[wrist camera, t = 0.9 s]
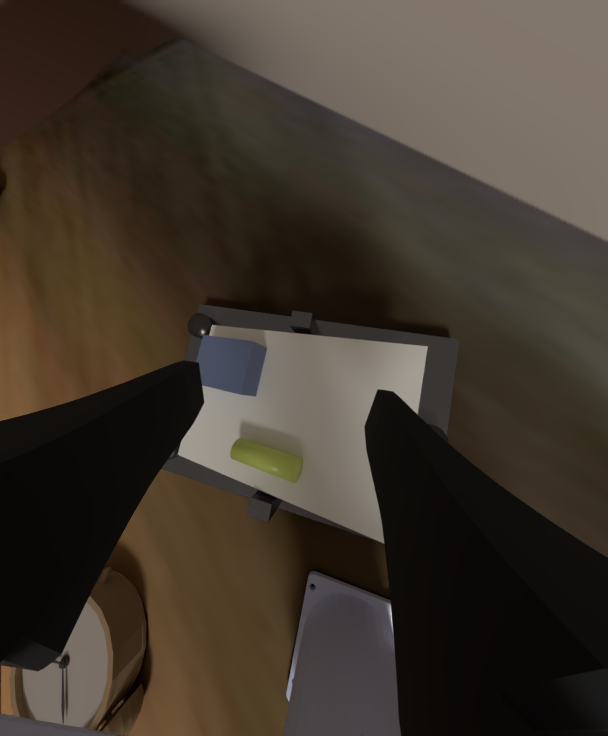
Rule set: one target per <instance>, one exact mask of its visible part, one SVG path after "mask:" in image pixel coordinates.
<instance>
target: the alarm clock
mask: <svg viewBox="0 0 608 736" xmlns="http://www.w3.org/2000/svg"><path fill="white" fill-rule="evenodd" d="M145 647H146V619H145V614H144V609H143V604H142V600H141V598H140V596H139V594H138V592H137V590H136V588H135V586H134V585H133V584H132V583H131V582H130V581H129V580H128V579H127V578H126V577H125V576H123V575H122V574H121V573H119V572H116V571H113V570H111V567H107V568H105V569H103V570H102V572H101V574H100V576H99V578H98V580H97V582H96V584H95V586H94V588H93V590H92V592H91V594H90V596H89V598H88V600H87V602H86V604H85V606H84V608H83V610H82V612H81V615H80V617H79V619H78V621H77V623H76V625H75V627H74V629H73V631H72V633H71V635H70V637H69V640H68V642H67V644H66V646H65V648H64V650H63V653H62V654H61V655H60V656H59V657H58V658H57V659H56V660H55V661H53V662H52V663H51V664H49V665H48V666H47V667H45V668H44V669H42V670H40V671H33V670H27V669H21V668H15V667H12V668H11V676H10V689H11V706H12V710H13V714H14V716H17V717H23V718H29V719H35V720H40V721H46V722H52V723H58V724H64V725H69V726H75V727H81V728H87V729H92V730H97V729H98V727H99V726H100V724H101V723H102V722H103V721H104V720H105V719H106V721H107V722H106V723H105V724H104V726H103V727H102V728H101V729H100V730H99V731H104V732H110V733H116V734H121V735H128V734H129V732H130V730H131V729H132V727H133V725H134V723H135V721H136V719H137V717H138V715H139V713H140V710H141V707H142V703H143V698H144V690H143V685H142V682H141V684H140V685H139V687H138V688H137V689H136V690H135V692H134V693H133V694H132V695H131V697H130V698H129V699H128V698H127V699H126V700H125V701H124V702H123V703H122V704H121V706H120V707H119V708H118V709H117V710H116V711H115V713H114V714H113V715H112V714H111V711H112V710H113V709H114V708H115V707H116V705H117V704H118V703H119V702H120V701H121V700H122V699H123V698H124V697H125V695H126V694H127V693H128V692H129V691H130V690H131V688H132V686H133V684H134V682H135V680H136V677H137V675H138V673H139V671H140V669H141V665H142V661H143V656H144V652H145ZM128 736H129V735H128Z"/></svg>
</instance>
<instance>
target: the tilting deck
mask: <svg viewBox="0 0 608 736" xmlns="http://www.w3.org/2000/svg"><path fill="white" fill-rule="evenodd" d="M427 348H428V346H419V345H409V344H399V343H389V342H379V341H369V340H359V339H349V338H339V337H329V336H318V335H308V334H298V333H288V332H278V331H268V330H258V329H248V328H238V327H228V326H218V325H212V327H211V331H210V334H209V336H208V335H203V338H202V341H201V345H200V349H199V353H198V356H197V360H196V362H198V363H199V367H200V374H201V381H202V388H203V395H204V404H203V406H202V408H201V410H200V412H199V414H198V416H197V418H196V420H195V422H194V423H193V425H192V426H191V428H190V429H189V431H188V432H187V433H186V435H185V436H184V438H183V439H182V441H181V444H180V448H179V452H178V455H179V456H182V457H184V458H186V459H189V460H191V461H193V462H196V463H198V464H200V465H203V466H205V467H207V468H210V469H212V470H214V471H217V472H219V473H221V474H224V475H226V476H228V477H231V478H233V479H235V480H238V481H240V482H242V483H245V484H247V485H249V486H251V487H254V488H256V489H258V490H261V491H263V492H265V493H268V494H270V495H272V496H275V497H277V498H279V499H282V500H284V501H286V502H289V503H291V504H293V505H296V506H298V507H300V508H303V509H305V510H307V511H310V512H312V513H314V514H317V515H319V516H321V517H324V518H326V519H328V520H330V521H333V522H335V523H337V524H340V525H342V526H344V527H347V528H349V529H351V530H354V531H356V532H358V533H361V534H363V535H365V536H368V537H370V538H372V539H375V540H377V541H379V542H382V543H384V537H383V529H382V521H381V516H380V510H379V505H378V501H377V496H376V492H375V487H374V483H373V478H372V474H371V469H370V465H369V460H368V455H367V451H366V441H365V429H364V426H365V423H366V420H367V418H368V415H369V412H370V409H371V406H372V404H373V401H374V398H375V395H376V392H377V390H378V389H381V390H388V391H393V392H394V393H396V394H397V395H398V396H399V397H400V398H401V399H402V400H403V401H404V402H405V403H406V404H407V405H408V406H409V407H410V408H411V409H412V410H413V411H414V412H415V413H417V414H418V408H419V402H420V395H421V388H422V382H423V375H424V368H425V362H426V355H427Z"/></svg>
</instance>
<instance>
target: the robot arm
mask: <svg viewBox="0 0 608 736" xmlns="http://www.w3.org/2000/svg"><path fill="white" fill-rule="evenodd" d="M203 404H204V395H203V388H202V381H201V374H200V367H199V363H198V362H191V361H185V360H184V361H180V362H177V363H174V364H171V365H169V366H166V367H163V368H161V369H158V370H156V371H153V372H150V373H148V374H145V375H143V376H140V377H138V378H135V379H133V380H130V381H127V382H125V383H122V384H119V385H117V386H114V387H111V388H108V389H106V390H103V391H100V392H97V393H94V394H92V395H89V396H86V397H83V398H80V399H77V400H74V401H71V402H68V403H64V404H61V405H58V406H54V407H51V408H48V409H44V410H41V411H38V412H34V413H30V414H27V415H23V416H19V417H15V418H11V419H7V420H3V421H0V665H3V666H9V667H15V668H21V669H27V670H33V671H40V670H42V669H44V668H45V667H47V666H48V665H49V664H51V663H52V662H53V661H55V660H56V659H57V658H58V657H59V656H60V655H61V654H62V653H63V650H64V648H65V646H66V644H67V642H68V640H69V637H70V635H71V633H72V631H73V629H74V627H75V625H76V623H77V621H78V619H79V617H80V615H81V612H82V610H83V608H84V606H85V604H86V602H87V600H88V598H89V596H90V594H91V592H92V590H93V588H94V586H95V584H96V582H97V580H98V578H99V576H100V574H101V572H102V570H103V568H104V567H105V565H106V563H107V561H108V559H109V557H110V555H111V553H112V551H113V549H114V547H115V545H116V544H117V542H118V540H119V538H120V536H121V535H122V533H123V531H124V529H125V527H126V526H127V524H128V522H129V520H130V518H131V517H132V515H133V513H134V511H135V510H136V508H137V506H138V505H139V503H140V501H141V499H142V498H143V496H144V494H145V493H146V491H147V489H148V488H149V486H150V484H151V483H152V481H153V480H154V478H155V477H156V475H157V474H158V472H159V471H160V470H161V468H162V467H163V465H164V464H165V463H166V461H167V460H168V459H169V457H170V456H171V454H172V453H173V452H174V450H175V449H176V447H177V446H178V445H179V443H180V442H181V441H182V439H183V438H184V436H185V435H186V433H187V432H188V431H189V429H190V428H191V426H192V425H193V423H194V422H195V420H196V418H197V416H198V414H199V412H200V410H201V408H202V406H203ZM364 429H365V441H366V451H367V455H368V460H369V465H370V469H371V474H372V478H373V483H374V487H375V492H376V496H377V501H378V505H379V510H380V516H381V521H382V529H383V537H384V545H385V552H386V561H387V571H388V580H389V589H390V600H388V599H386V598H383V597H381V596H378V595H375V594H373V593H370V592H368V591H365V590H362V589H360V588H357V587H355V586H352V585H350V584H347V583H344V582H342V581H339V580H337V579H334V578H332V577H329V576H326V575H324V574H321V573H319V572H316V571H311V572H310V573H309V576H308V581H307V586H306V591H305V597H304V602H303V607H302V612H301V618H300V623H299V628H298V634H297V639H296V644H295V649H294V655H293V660H292V665H291V671H290V676H289V681H288V686H287V692H286V696H287V699H288V701H289V705H288V710H287V715H286V720H285V725H284V730H283V736H608V558H607V557H605V556H604V555H602V554H601V553H599V552H597V551H596V550H594V549H593V548H591V547H589V546H588V545H586V544H585V543H583V542H582V541H580V540H578V539H577V538H575V537H574V536H572V535H571V534H569V533H568V532H566V531H565V530H563V529H562V528H560V527H559V526H557V525H556V524H554V523H553V522H551V521H550V520H548V519H547V518H545V517H544V516H542V515H541V514H540V513H538V512H537V511H535V510H534V509H532V508H531V507H530V506H528V505H527V504H525V503H524V502H522V501H521V500H520V499H518V498H517V497H515V496H514V495H513V494H511V493H510V492H508V491H507V490H506V489H504V488H503V487H502V486H500V485H499V484H498V483H496V482H495V481H494V480H492V479H491V478H490V477H489V476H487V475H486V474H485V473H483V472H482V471H481V470H480V469H478V468H477V467H476V466H474V465H473V464H472V463H471V462H470V461H468V460H467V459H466V458H465V457H464V456H462V455H461V454H460V453H459V452H458V451H457V450H455V449H454V448H453V447H452V446H451V445H450V444H449V443H447V442H446V441H445V440H444V439H443V438H442V437H441V436H440V435H439V434H437V433H436V432H435V431H434V430H433V429H432V428H431V427H430V426H429V425H428V424H427V423H426V422H425V421H424V420H423V419H422V418H421V417H420V416H419V415H418V414H417V413H415V412H414V411H413V410H412V409H411V408H410V407H409V406H408V405H407V404H406V403H405V402H404V401H403V400H402V399H401V398H400V397H399V396H398V395H397V394H396V393H394V392H393V391H388V390H381V389H378V390H377V392H376V395H375V398H374V401H373V404H372V406H371V409H370V412H369V415H368V418H367V420H366V423H365V426H364ZM310 584H314V585H315V587H312V586H311V585H310ZM0 736H127V735H121V734H116V733H110V732H104V731H98V730H92V729H87V728H81V727H75V726H69V725H64V724H58V723H52V722H46V721H40V720H35V719H29V718H23V717H17V716H12V715H6V714H0Z"/></svg>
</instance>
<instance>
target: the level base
mask: <svg viewBox="0 0 608 736" xmlns="http://www.w3.org/2000/svg"><path fill="white" fill-rule="evenodd" d="M212 325H218V326H228V327H238V328H248V329H258V330H268V331H278V332H288V333H298V334H308V335H318V336H329V337H339V338H349V339H359V340H369V341H379V342H389V343H399V344H409V345H419V346H428V348H427V355H426V362H425V368H424V375H423V382H422V388H421V395H420V402H419V408H418V415H419V416H420V417H421V418H422V419H423V420H424V421H425V422H426V423H427V424H428V425H429V426H430V427H431V428H432V429H433V430H434V431H435V432H436V433H437V434H439V435H440V436H441V437H442V438H443V439H444V440H445V441H446V442H447V443H448V439H447V429H448V422H449V414H450V407H451V399H452V392H453V384H454V377H455V369H456V362H457V354H458V347H459V339H453V338H446V337H438V336H431V335H424V334H416V333H409V332H401V331H394V330H387V329H379V328H372V327H364V326H357V325H350V324H342V323H335V322H327V321H320V320H315V318H314V315H313V313H308V312H300V311H292V316H291V317H290V316H283V315H275V314H268V313H261V312H253V311H246V310H238V309H231V308H224V307H216V306H209V305H201V304H200V305H199V309H198V312H197V314H195V315H193V316H192V317H191V318H190V320H189V322H188V331H189V333H190V334H191V338H190V342H189V345H188V349H187V353H186V356H185V361H191V362H196V360H197V356H198V353H199V349H200V345H201V341H202V338H203V335H208V336H209V334H210V331H211V327H212ZM180 444H181V442H180V443H179V445H178V446H177V447H176V449H175V450H174V452H173V453H172V454H171V456H170V457H169V459H168V460H167V461H166V463H165V464H164V465H163V467H162V468H161V469H164V470H167V471H170V472H173V473H176V474H179V475H182V476H185V477H188V478H191V479H194V480H197V481H200V482H203V483H206V484H209V485H212V486H215V487H218V488H220V489H223V490H226V491H229V492H232V493H235V494H238V495H241V496H244V497H247V498H250V503H249V508H248V512H247V516H250V517H253V518H256V519H259V520H261V521H264V522H267V523H268V522H269V520H270V519H271V517H272V516H273V514H274V513H275V511H276V510H277V508H280V509H283V510H286V511H289V512H292V513H295V514H298V515H300V516H303V517H306V518H309V519H312V520H315V521H318V522H321V523H324V524H327V525H330V526H333V527H336V528H339V529H342V530H345V531H348V532H351V533H354V534H357V535H360V536H363V537H366V538H369V539H372V538H370V537H368V536H365V535H363V534H361V533H358V532H356V531H354V530H351V529H349V528H347V527H344V526H342V525H340V524H337V523H335V522H333V521H330V520H328V519H326V518H324V517H321V516H319V515H317V514H314V513H312V512H310V511H307V510H305V509H303V508H300V507H298V506H296V505H293V504H291V503H289V502H286V501H284V500H282V499H279V498H277V497H275V496H272V495H270V494H268V493H265V492H263V491H261V490H258V489H256V488H254V487H251V486H249V485H247V484H245V483H242V482H240V481H238V480H235V479H233V478H231V477H228V476H226V475H224V474H221V473H219V472H217V471H214V470H212V469H210V468H207V467H205V466H203V465H200V464H198V463H196V462H193V461H191V460H189V459H186V458H184V457H182V456H179V455H178V452H179V448H180ZM372 540H375V539H372ZM375 541H377V540H375ZM378 542H379V541H378ZM381 543H382V542H381ZM383 544H384V543H383Z"/></svg>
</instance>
